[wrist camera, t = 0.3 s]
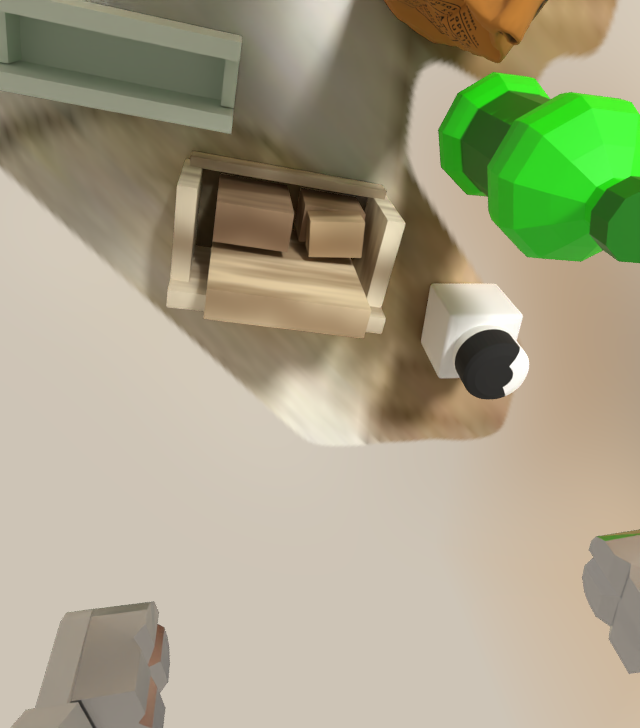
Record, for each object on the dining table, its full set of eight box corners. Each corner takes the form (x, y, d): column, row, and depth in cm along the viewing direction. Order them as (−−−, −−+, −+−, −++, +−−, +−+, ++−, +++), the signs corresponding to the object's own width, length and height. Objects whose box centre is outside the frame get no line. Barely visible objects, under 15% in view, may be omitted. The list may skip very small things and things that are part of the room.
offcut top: (307, 210, 48) (310, 221, 46) (359, 211, 49) (365, 222, 47) (305, 244, 50) (308, 257, 48) (355, 245, 51) (361, 257, 48)
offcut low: (300, 187, 52) (305, 204, 48) (356, 196, 53) (365, 214, 49) (294, 221, 54) (298, 241, 50) (348, 230, 55) (356, 250, 51)
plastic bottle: (552, 148, 53) (754, 253, 32) (447, 206, 55) (573, 342, 34) (520, 38, 48) (736, 78, 27) (404, 107, 50) (523, 194, 29)
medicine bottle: (419, 342, 63) (453, 410, 53) (429, 282, 59) (468, 342, 49) (482, 342, 64) (527, 408, 54) (496, 282, 60) (548, 341, 50)
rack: (186, 149, 49) (175, 182, 41) (387, 185, 53) (414, 222, 45) (177, 258, 54) (166, 306, 46) (361, 284, 58) (381, 333, 50)
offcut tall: (219, 173, 51) (216, 201, 44) (287, 185, 52) (294, 214, 45) (216, 208, 52) (212, 241, 46) (281, 219, 54) (287, 252, 47)
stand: (5, -17, 42) (-31, -18, 36) (241, 36, 45) (241, 42, 40) (12, 74, 45) (-21, 86, 39) (232, 116, 48) (231, 134, 43)
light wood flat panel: (215, 217, 53) (206, 288, 40) (342, 237, 55) (371, 310, 43) (212, 242, 54) (203, 318, 42) (336, 260, 57) (363, 338, 44)
